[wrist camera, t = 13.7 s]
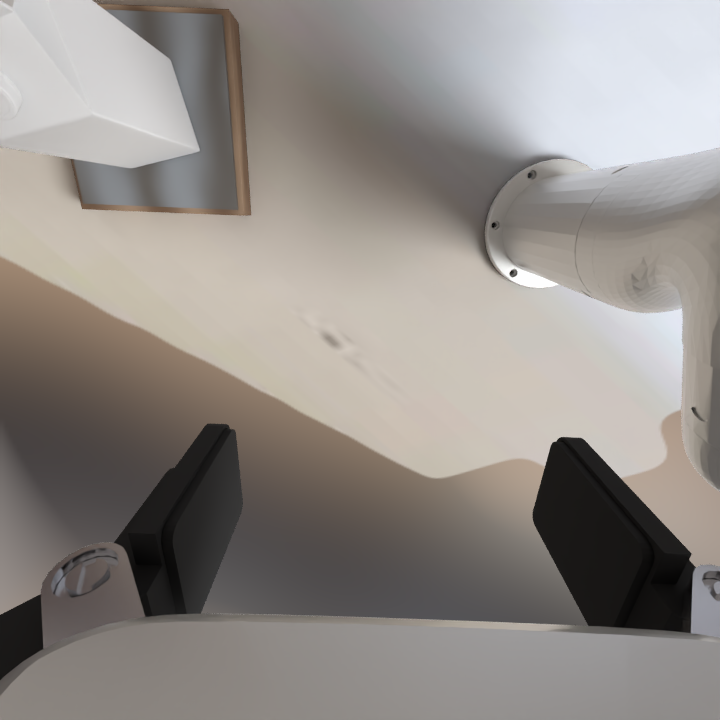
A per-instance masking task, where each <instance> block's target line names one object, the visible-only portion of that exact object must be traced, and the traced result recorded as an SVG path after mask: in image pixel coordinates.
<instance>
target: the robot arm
mask: <svg viewBox="0 0 720 720" xmlns="http://www.w3.org/2000/svg"><path fill="white" fill-rule="evenodd" d="M528 173H530V174H531V177H530V178H528ZM492 223H495V227H493V228H492V226H491V225H492ZM485 244H486V250H487V253H488V255H489V258H490V260H491V262H492V264H493V265H494V267H495V268H496V270H497V271H498V272H499V273H500V274H501V275H503V276H504V277H505V278H507V279H508V280H510V281H512V282H513V283H516V284H518V285H520V286H525V287H529V288H546V287H553V286H556V285H562V286H564V287H567V288H569V289H572V290H574V291H577V292H579V293H582V294H584V295H586V296H589V297H591V298H594V299H597V300H599V301H602V302H604V303H607V304H609V305H612V306H615V307H617V308H620V309H624V310H627V311H631V312H638V313H659V312H667V311H673V310H677V309H681V308H682V314H683V326H682V342H683V374H682V404H681V409H682V438H683V442H684V447H685V451H686V453H687V456H688V458H689V460H690V462H691V463H692V465H693V467H694V468H695V469H696V471H697V472H698V473H699V474H700V475H701V476H702V477H703V478H704V479H705V480H706V481H707V482H708V483H709V484H710V485H711V486H713V487H714V488H715V489H716V490H718V491H719V492H720V148H716V149H712V150H708V151H703V152H698V153H693V154H688V155H683V156H677V157H671V158H665V159H659V160H653V161H647V162H641V163H635V164H628V165H622V166H616V167H610V168H603V169H597V170H593V169H591V168H590V167H588V166H587V165H585V164H583V163H580V162H578V161H575V160H569V159H551V160H546V161H542V162H539V163H536V164H534V165H531V166H529V167H527V168H525V169H524V170H522V171H520V172H519V173H517V174H516V175H515V176H514V177H512V178H511V179H510V180H509V181H508V182H507V183H506V184H505V185H504V186H503V188H502V189H501V190H500V191H499V193H498V194H497V196H496V198H495V199H494V201H493V203H492V205H491V208H490V210H489V213H488V215H487V220H486V225H485ZM511 270H512V271H513V272H512V274H509V273H510V271H511ZM242 500H243V499H242V490H241V480H240V470H239V460H238V451H237V441H236V432H235V430H233V429H232V430H231V429H230V428H229V426H228V425H227V424H207V425H206V426H205V427H204V428H203V430H202V431H201V433H200V434H199V435H198V437H197V438H196V439H195V441H194V442H193V444H192V445H191V446H190V448H189V449H188V450H187V452H186V453H185V455H184V456H183V457H182V459H181V460H180V461H179V463H178V464H177V466H176V467H175V468H172V469H170V470H169V471H168V472H167V473H166V474H165V475H164V477H163V478H162V479H161V480H160V482H159V483H158V485H157V486H156V487H155V489H154V490H153V491H152V493H151V494H150V495H149V497H148V498H147V499H146V501H145V502H144V503H143V505H142V506H141V507H140V509H139V510H138V511H137V513H136V514H135V515H134V517H133V518H132V519H131V521H130V522H129V523H128V525H127V526H126V527H125V529H124V530H123V532H122V533H121V534H120V535H119V537H118V538H117V539H116V541H115V542H114V543H109V542H104V543H96V544H92V545H89V546H86V547H83V548H81V549H79V550H77V551H75V552H73V553H71V554H69V555H68V556H67V557H65V558H64V559H63V560H61V561H60V562H58V563H57V564H56V565H55V567H53V569H52V570H51V571H50V572H49V573H48V574H47V576H46V578H45V579H44V581H43V583H42V588H41V594H40V595H38V596H36V597H34V598H32V599H30V600H29V601H27V602H25V603H23V604H21V605H19V606H17V607H15V608H13V609H11V610H9V611H7V612H5V613H3V614H1V615H0V720H720V567H719V566H715V565H700V566H698V567H697V568H696V567H695V566H694V565H693V564H692V563H691V562H690V561H689V558H690V556H691V553H690V552H689V551H688V550H687V548H686V547H685V546H684V545H683V544H682V543H681V542H680V541H679V540H678V539H677V538H676V537H675V536H674V535H673V534H672V532H671V531H670V530H669V529H668V528H667V527H666V526H665V525H664V524H663V523H662V522H661V521H660V520H659V519H658V518H657V517H656V516H655V514H653V512H652V511H651V510H650V509H649V508H648V507H647V506H646V505H645V504H644V503H643V502H642V501H641V500H640V499H639V497H637V495H636V494H635V493H634V492H633V491H632V490H631V489H630V488H629V487H628V486H627V485H626V484H625V483H624V482H623V481H622V479H621V478H620V477H619V476H618V475H617V474H616V473H615V472H614V471H613V470H612V469H611V468H610V467H609V466H608V465H607V464H606V462H605V461H604V460H603V459H602V458H601V457H600V456H599V455H598V454H597V453H596V452H595V451H594V450H593V449H592V448H591V447H590V446H589V444H588V443H587V442H586V441H585V440H583V439H582V438H570V437H561V438H559V439H558V440H557V442H553V443H552V445H551V448H550V451H549V455H548V458H547V462H546V466H545V469H544V473H543V477H542V480H541V484H540V488H539V491H538V495H537V499H536V502H535V506H534V509H533V521H534V524H535V526H536V528H537V530H538V532H539V534H540V536H541V538H542V540H543V542H544V543H545V545H546V547H547V549H548V551H549V553H550V555H551V557H552V558H553V560H554V562H555V564H556V566H557V568H558V570H559V572H560V573H561V575H562V577H563V579H564V581H565V583H566V585H567V587H568V588H569V590H570V592H571V594H572V596H573V598H574V600H575V601H576V603H577V605H578V607H579V609H580V611H581V613H582V615H583V616H584V618H585V620H586V622H587V624H588V626H576V625H575V626H574V625H552V624H530V623H506V622H481V621H480V622H479V621H453V620H427V619H426V620H425V619H398V618H370V617H338V616H337V617H336V616H304V615H272V614H201V611H202V609H203V606H204V604H205V601H206V599H207V596H208V594H209V592H210V589H211V587H212V584H213V582H214V579H215V577H216V574H217V571H218V569H219V567H220V564H221V562H222V559H223V557H224V554H225V552H226V549H227V547H228V544H229V542H230V539H231V536H232V534H233V532H234V529H235V527H236V525H237V522H238V520H239V517H240V514H241V511H242V505H243V501H242Z"/></svg>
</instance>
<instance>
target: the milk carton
mask: <svg viewBox="0 0 720 720" xmlns="http://www.w3.org/2000/svg"><path fill="white" fill-rule="evenodd" d="M0 147H3V148H9V149H15V150H21V151H27V152H33V153H39V154H45V155H51V156H58V157H64V158H70V159H76V160H82V161H88V162H94V163H100V164H106V165H112V166H118V167H124V168H136V167H140V166H144V165H148V164H152V163H156V162H160V161H164V160H168V159H172V158H176V157H180V156H184V155H188V154H192V153H196V152H199V151H200V149H199V146H198V143H197V139H196V136H195V133H194V130H193V127H192V124H191V121H190V118H189V115H188V112H187V109H186V106H185V102H184V99H183V96H182V93H181V90H180V87H179V84H178V81H177V78H176V75H175V72H174V69H173V66H172V62H171V60H170V59H169V58H168V57H166V56H165V55H164V54H162V53H161V52H160V51H158V50H157V49H156V48H155V47H153V46H152V45H151V44H149V43H148V42H147V41H145V40H144V39H143V38H141V37H140V36H139V35H137V34H136V33H135V32H133V31H132V30H131V29H129V28H128V27H127V26H126V25H124V24H123V23H122V22H120V21H119V20H118V19H116V18H115V17H114V16H112V15H111V14H110V13H108V12H107V11H106V10H104V9H103V8H102V7H101V6H99V5H98V4H97V3H95V2H94V1H93V0H0Z"/></svg>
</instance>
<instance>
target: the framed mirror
mask: <svg viewBox="0 0 720 720" xmlns="http://www.w3.org/2000/svg"><path fill="white" fill-rule="evenodd" d="M98 5H99V6H101V7H102V8H103V9H104V10H106V11H107V12H108V13H110V14H111V15H112V16H114V17H115V18H116V19H118V20H119V21H120V22H122V23H123V24H124V25H126V26H127V27H128V28H129V29H131V30H132V31H133V32H135V33H136V34H137V35H139V36H140V37H141V38H143V39H144V40H145V41H147V42H148V43H149V44H151V45H152V46H153V47H155V48H156V49H157V50H158V51H160V52H161V53H162V54H164V55H165V56H166V57H168V58H169V59H170V60H171V62H172V66H173V69H174V72H175V75H176V78H177V81H178V84H179V87H180V90H181V93H182V96H183V99H184V102H185V106H186V109H187V112H188V115H189V118H190V121H191V124H192V127H193V130H194V133H195V136H196V139H197V143H198V146H199V149H200V151H199V152H196V153H192V154H188V155H184V156H180V157H176V158H172V159H168V160H164V161H160V162H156V163H152V164H148V165H144V166H140V167H136V168H124V167H118V166H112V165H106V164H100V163H94V162H88V161H82V160H76V159H71V161H72V166H73V170H74V175H75V179H76V184H77V188H78V193H79V197H80V201H81V206H82V209H96V210H121V211H145V212H170V213H194V214H219V215H243V216H244V215H251V205H250V190H249V175H248V160H247V145H246V130H245V115H244V100H243V85H242V70H241V55H240V40H239V25H238V22H237V21H236V19H235V18H234V16H233V15H232V14H231V12H230V11H229V9H208V8H184V7H161V6H138V5H115V4H98Z"/></svg>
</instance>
